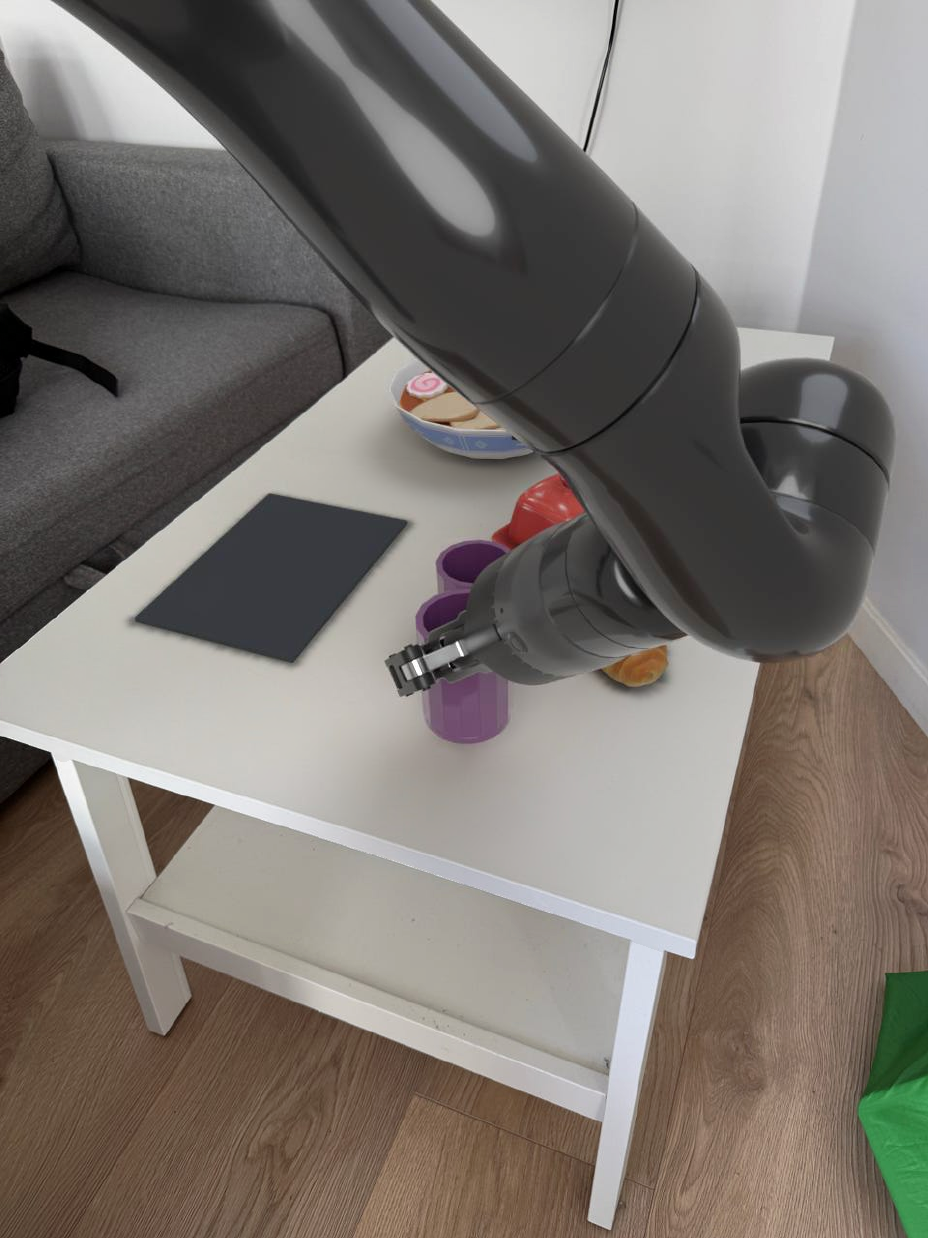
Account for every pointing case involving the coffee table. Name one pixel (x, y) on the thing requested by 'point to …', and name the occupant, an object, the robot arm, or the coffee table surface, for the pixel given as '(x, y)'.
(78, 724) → the coffee table surface
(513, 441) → the ramen bowl
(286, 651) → the mat
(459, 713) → the plum cup front
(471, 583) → the plum cup side
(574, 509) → the butter dish
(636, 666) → the pastry
